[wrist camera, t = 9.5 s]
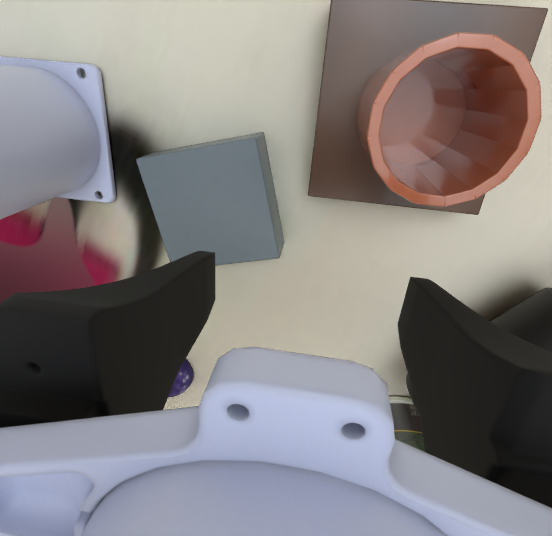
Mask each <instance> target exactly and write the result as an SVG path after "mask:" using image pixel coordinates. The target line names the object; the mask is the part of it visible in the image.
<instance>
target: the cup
mask: <svg viewBox="0 0 552 536" xmlns="http://www.w3.org/2000/svg"><path fill="white" fill-rule="evenodd" d="M539 83H540V81H539V80H538V78H537V76H536V74H535V72H534V70H533V68H532V67H531V65H530V63H529V61H528V59H527V57H526V55H525V54H523V52H522V51H520V50H519V49H517V48H516V47H514V46H512V45H511V44H509V43H508V42H506V41H504V40H503V39H501V38H500V37H498V36H496V35H493V34H480V33H466V32H459V33H454V34H451V35H448V36H446V37H443V38H440V39H437V40H434V41H432V42H429V43H426V44H423V45H421V46H419V47H417V48H414V49H412V50H410V51H408V52H406V53H403V54H401V55H399V56H397V57H395V58H393V59H391V60H390V61H389V62H388V63H386V64H385V65H384V66H382V67H381V68H380V69H379V70H378V71H377V72H376V73H375V74H374V75H373V76H372V78H371V79H370V80H369V82H368V83H367V85H366V87H365V88H364V91H363V93H362V95H361V98H360V100H359V104H358V109H357V120H356V121H357V122H356V123H357V130H358V134H359V137H360V142H361V144H362V146H363V148H364V150H365V152H366V154H367V156H368V158H369V160H370V162H371V164H372V166H373V168H374V169H375V170H376V172H377V173H378V175H379V176H380V177H381V179H382V180H383V181H384V183H385V184H386V186H387V187H388V188H389V189H390V190H391V191H393V192H394V193H396V194H398V195H400V196H402V197H403V198H405V199H407V200H409V201H410V202H412V203H415V204H421V205H430V206H439V207H444V206H445V207H446V206H450V205H454V204H458V203H462V202H466V201H470V200H474V199H475V198H476V199H477V198H478V197H480V196H482V195H483V194H485V193H486V192H488V191H489V190H491V189H493V188H494V187H496V186H497V185H499V184H500V183H502V182H504V181H505V180H506V179H507V178H508V177H509V175H510V174H511V173H512V172H513V171H514V169H515V168H516V167H517V166H518V165H519V163H520V162H521V161H522V160H523V158H524V157H525V156H526V155H527V154H528V152H529V150H530V147H531V145H532V142H533V139H534V137H535V134H536V131H537V129H538V126H539V123H540V121H541V119H540V118H541V90H540V84H539Z"/></svg>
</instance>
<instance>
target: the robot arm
mask: <svg viewBox="0 0 552 536" xmlns="http://www.w3.org/2000/svg"><path fill="white" fill-rule="evenodd" d="M82 69H83V70H84V71H85V73H86V76H85V78H84V77H83V76H82V75H81V70H82ZM98 191H100V192H101V193H102V195H103V197H100V196H99V194H98ZM55 197H60V198H69V199H77V200H85V201H94V202H102V203H111V202H113V201H114V200H115V199H116V190H115V182H114V174H113V165H112V157H111V149H110V141H109V133H108V124H107V116H106V108H105V100H104V92H103V83H102V75H101V72H100V70H99V68H98V67H97V66H96V65H93V64H85V63H73V62H61V61H50V60H38V59H26V58H15V57H3V56H0V219H3V218H5V217H8V216H10V215H13V214H15V213H18V212H20V211H23V210H25V209H28V208H30V207H33V206H35V205H38V204H40V203H43V202H45V201H48V200H50V199H53V198H55ZM214 301H215V252H207V251H196V252H193V253H191V254H188V255H186V256H184V257H182V258H179V259H177V260H175V261H173V262H170V263H168V264H166V265H164V266H161V267H158V268H156V269H153V270H151V271H148V272H146V273H143V274H140V275H137V276H134V277H131V278H127V279H124V280H120V281H116V282H112V283H107V284H102V285H97V286H92V287H87V288H80V289H72V290H64V291H52V292H31V293H15V294H14V295H12V296H11V297H9V298H8V299H6V300H5V301H3V302H2V303H0V536H552V352H550V351H547V350H545V349H543V348H540V347H538V346H536V345H534V344H532V343H529V342H527V341H525V340H523V339H521V338H519V337H517V336H515V335H513V334H511V333H509V332H508V331H506V330H504V329H502V328H500V327H498V326H497V325H495V324H493V323H492V322H490V321H488V320H487V319H485V318H484V317H482V316H481V315H479V314H477V313H476V312H474V311H473V310H471V309H470V308H469V307H467V306H466V305H464V304H463V303H462V302H460V301H459V300H457V299H456V298H455V297H453V296H452V295H451V294H449V293H448V292H447V291H445V290H444V289H443V288H441V287H440V286H438V285H437V284H435V283H434V282H432V281H431V280H429V279H423V278H415V277H410V281H409V284H408V288H407V292H406V295H405V299H404V303H403V306H402V310H401V314H400V317H399V321H398V331H399V339H400V346H401V350H402V354H403V357H404V361H405V364H406V367H407V371H408V374H409V377H410V381H411V384H412V388H413V391H414V394H415V398H416V402H417V406H418V411H419V416H420V422H421V428H422V434H423V441H424V448H425V452H423V451H421V450H419V449H417V448H414V447H412V446H410V445H408V444H405V443H403V442H401V441H398V440H396V439H395V436H394V423H393V417H392V412H391V406H390V401H389V396H388V390H387V385H386V383H385V382H384V381H383V379H382V378H381V377H380V376H379V375H378V374H377V373H376V372H375V371H374V369H372V368H369V367H366V366H364V365H361V364H358V363H356V362H353V361H348V360H341V359H334V358H328V357H321V356H314V355H307V354H300V353H294V352H287V351H280V350H273V349H266V348H259V347H247V348H234V349H232V350H231V351H229V352H227V353H226V354H224V355H223V356H221V357H220V358H218V360H217V363H216V365H215V368H214V370H213V372H212V375H211V377H210V380H209V382H208V384H207V387H206V389H205V392H204V394H203V397H202V400H201V403H200V406H196V407H187V408H178V409H168V410H163V408H164V406H165V403H166V401H167V398H168V396H169V393H170V391H171V388H172V386H173V384H174V381H175V379H176V377H177V374H178V372H179V370H180V368H181V366H182V364H183V362H184V360H185V358H186V357H187V355H188V353H189V352H190V350H191V348H192V346H193V345H194V343H195V341H196V339H197V338H198V336H199V334H200V332H201V331H202V329H203V327H204V325H205V323H206V322H207V320H208V317H209V315H210V312H211V310H212V307H213V304H214Z"/></svg>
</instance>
